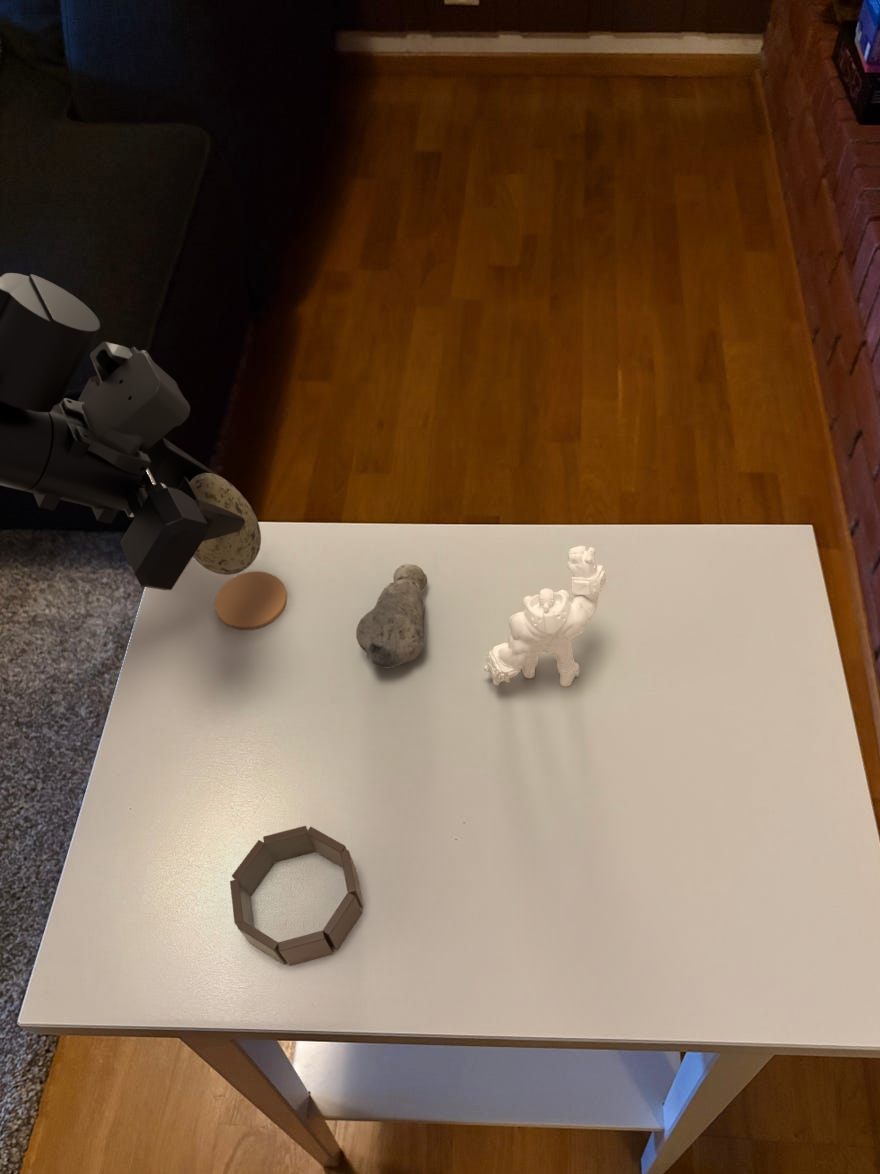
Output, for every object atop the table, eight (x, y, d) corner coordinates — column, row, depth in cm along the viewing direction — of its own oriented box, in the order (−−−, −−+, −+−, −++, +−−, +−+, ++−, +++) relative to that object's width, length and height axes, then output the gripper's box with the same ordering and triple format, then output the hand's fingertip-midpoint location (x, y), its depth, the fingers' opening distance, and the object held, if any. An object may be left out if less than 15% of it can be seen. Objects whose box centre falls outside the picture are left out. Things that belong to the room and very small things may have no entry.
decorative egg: (191, 590, 75) (153, 506, 67) (207, 536, 79) (173, 450, 70) (262, 591, 75) (232, 507, 67) (274, 538, 78) (248, 451, 70)
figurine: (581, 625, 78) (591, 533, 69) (615, 667, 76) (630, 577, 66) (479, 676, 76) (474, 587, 66) (510, 721, 73) (510, 636, 63)
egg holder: (251, 976, 62) (238, 962, 59) (238, 864, 67) (225, 846, 64) (370, 943, 63) (363, 927, 60) (349, 835, 68) (341, 816, 65)
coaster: (219, 637, 79) (218, 634, 79) (213, 582, 83) (211, 579, 82) (291, 620, 80) (290, 617, 79) (282, 567, 83) (281, 564, 83)
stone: (402, 581, 83) (331, 569, 77) (440, 555, 80) (370, 540, 74) (423, 681, 80) (351, 676, 74) (465, 659, 76) (393, 651, 71)
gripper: (129, 433, 52) (332, 498, 64) (47, 275, 61) (237, 357, 73) (49, 575, 56) (254, 610, 68) (-17, 406, 66) (173, 463, 78)
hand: (230, 503), depth 72 cm, fingers closed on decorative egg, 5 cm apart
